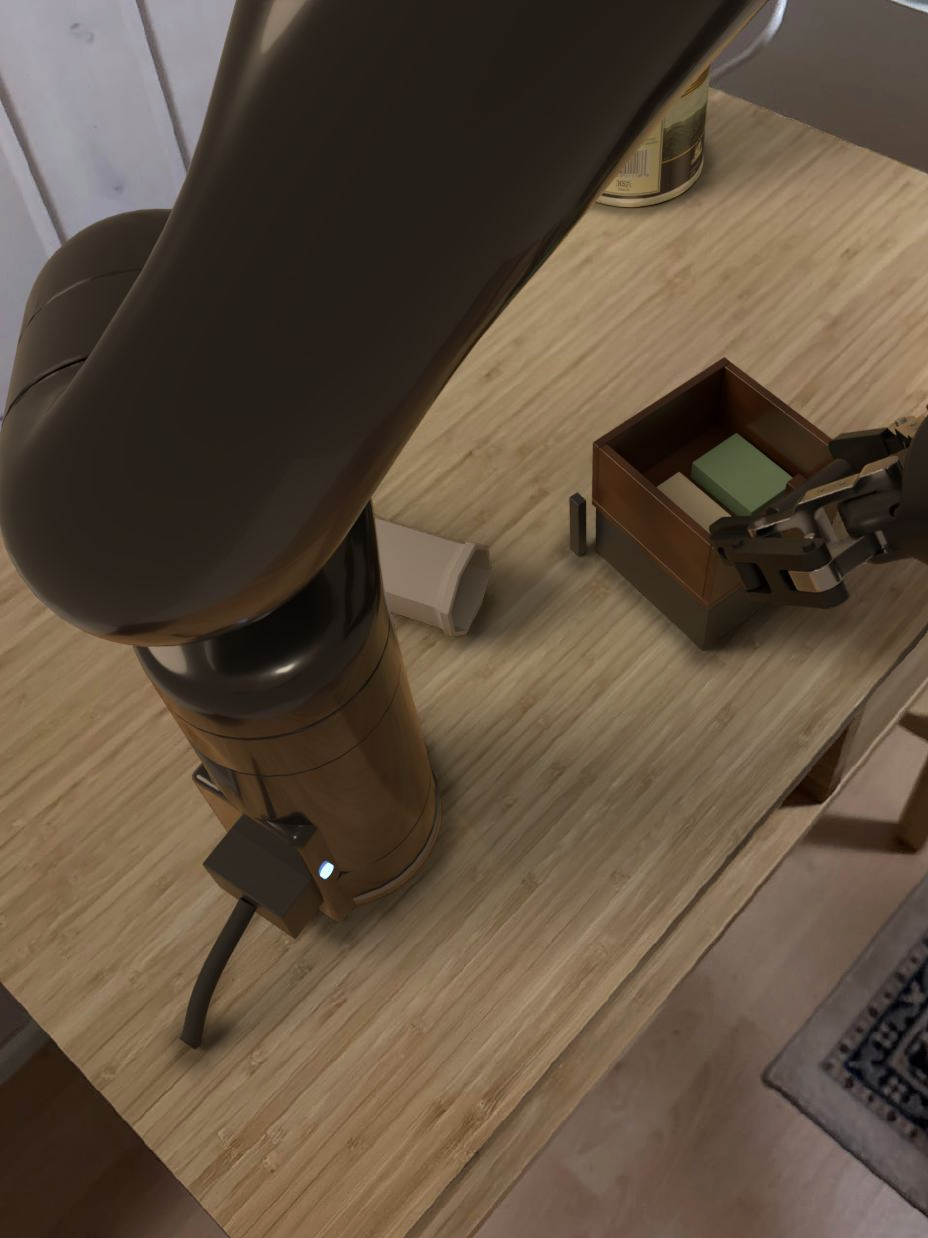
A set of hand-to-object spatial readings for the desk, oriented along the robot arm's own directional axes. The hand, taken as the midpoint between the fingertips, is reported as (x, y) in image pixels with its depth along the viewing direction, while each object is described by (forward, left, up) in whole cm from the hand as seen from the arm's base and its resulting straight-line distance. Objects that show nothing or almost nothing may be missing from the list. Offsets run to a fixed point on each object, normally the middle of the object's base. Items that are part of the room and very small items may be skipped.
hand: (781, 498), depth 54 cm
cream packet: (0, +5, -4) cm, 6 cm away
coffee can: (+30, +25, -9) cm, 41 cm away
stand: (+2, +4, -9) cm, 10 cm away
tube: (-11, +25, -9) cm, 29 cm away
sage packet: (+4, +3, -4) cm, 6 cm away
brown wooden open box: (+1, +3, -5) cm, 6 cm away
